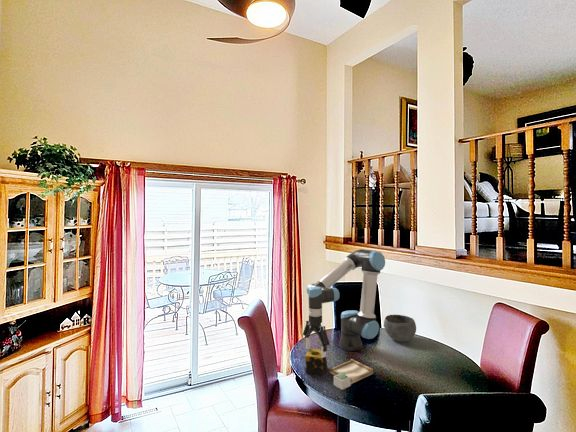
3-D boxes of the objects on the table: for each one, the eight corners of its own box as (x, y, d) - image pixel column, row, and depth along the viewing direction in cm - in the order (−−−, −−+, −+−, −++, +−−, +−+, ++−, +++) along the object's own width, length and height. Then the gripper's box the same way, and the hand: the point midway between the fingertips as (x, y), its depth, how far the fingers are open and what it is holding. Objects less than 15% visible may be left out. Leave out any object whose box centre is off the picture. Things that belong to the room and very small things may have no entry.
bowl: (389, 332, 235) (389, 312, 235) (419, 338, 223) (419, 316, 222) (379, 341, 218) (379, 320, 218) (411, 349, 206) (411, 325, 205)
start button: (336, 381, 164) (336, 374, 164) (341, 379, 166) (341, 371, 166) (341, 384, 161) (341, 376, 161) (347, 382, 164) (346, 374, 164)
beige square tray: (329, 372, 178) (329, 367, 178) (351, 363, 188) (351, 358, 188) (350, 384, 165) (350, 379, 165) (373, 373, 175) (373, 369, 175)
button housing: (333, 384, 165) (333, 376, 165) (342, 381, 168) (341, 372, 168) (342, 389, 160) (341, 380, 160) (350, 385, 163) (350, 377, 163)
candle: (327, 367, 183) (327, 350, 183) (323, 376, 174) (323, 357, 174) (310, 365, 187) (309, 348, 187) (305, 373, 177) (305, 355, 177)
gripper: (296, 310, 188) (297, 347, 188) (325, 322, 168) (325, 362, 168) (306, 308, 192) (307, 343, 192) (335, 319, 172) (336, 358, 172)
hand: (315, 352), depth 180 cm, fingers open, 13 cm apart
